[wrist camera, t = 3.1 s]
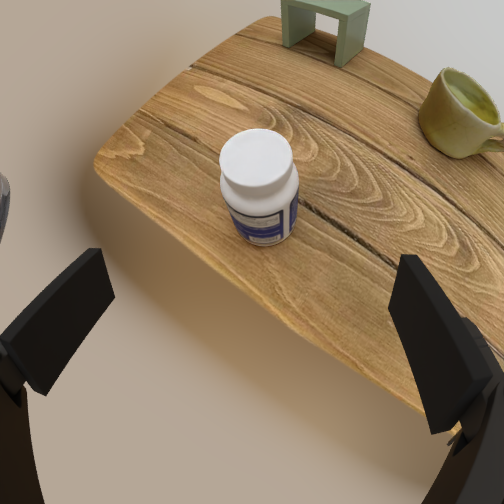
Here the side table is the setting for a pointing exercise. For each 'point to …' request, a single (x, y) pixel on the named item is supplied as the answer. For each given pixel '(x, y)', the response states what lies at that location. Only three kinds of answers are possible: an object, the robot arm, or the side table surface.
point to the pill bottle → (260, 185)
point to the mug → (460, 116)
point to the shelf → (333, 5)
